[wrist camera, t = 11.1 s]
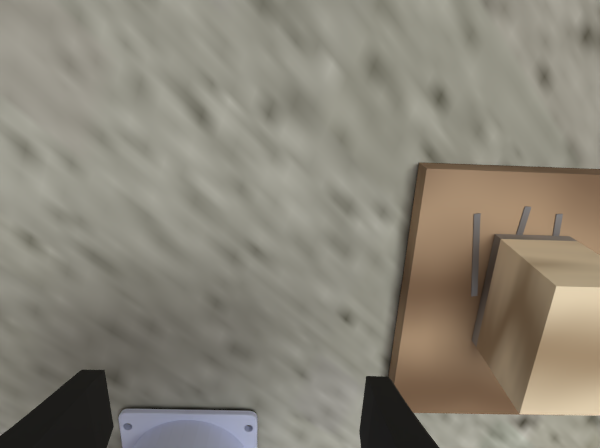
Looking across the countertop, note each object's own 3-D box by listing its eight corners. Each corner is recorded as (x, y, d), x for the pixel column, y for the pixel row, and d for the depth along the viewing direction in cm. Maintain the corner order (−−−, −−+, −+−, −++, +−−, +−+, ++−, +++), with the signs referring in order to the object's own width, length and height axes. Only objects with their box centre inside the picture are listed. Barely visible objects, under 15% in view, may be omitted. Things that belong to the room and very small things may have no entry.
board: (551, 399, 25) (564, 416, 24) (385, 396, 25) (390, 413, 24) (625, 170, 20) (645, 176, 19) (419, 162, 20) (427, 168, 19)
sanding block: (539, 341, 22) (604, 415, 18) (471, 340, 22) (519, 414, 18) (569, 236, 20) (652, 288, 16) (495, 233, 20) (556, 286, 15)
